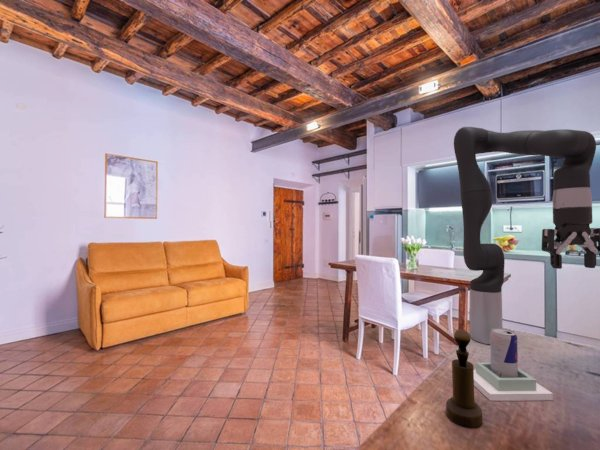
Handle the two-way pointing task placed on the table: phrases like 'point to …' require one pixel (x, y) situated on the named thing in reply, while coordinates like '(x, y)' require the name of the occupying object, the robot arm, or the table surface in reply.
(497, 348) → the energy drink
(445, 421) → the table surface
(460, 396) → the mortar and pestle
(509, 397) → the baseplate
